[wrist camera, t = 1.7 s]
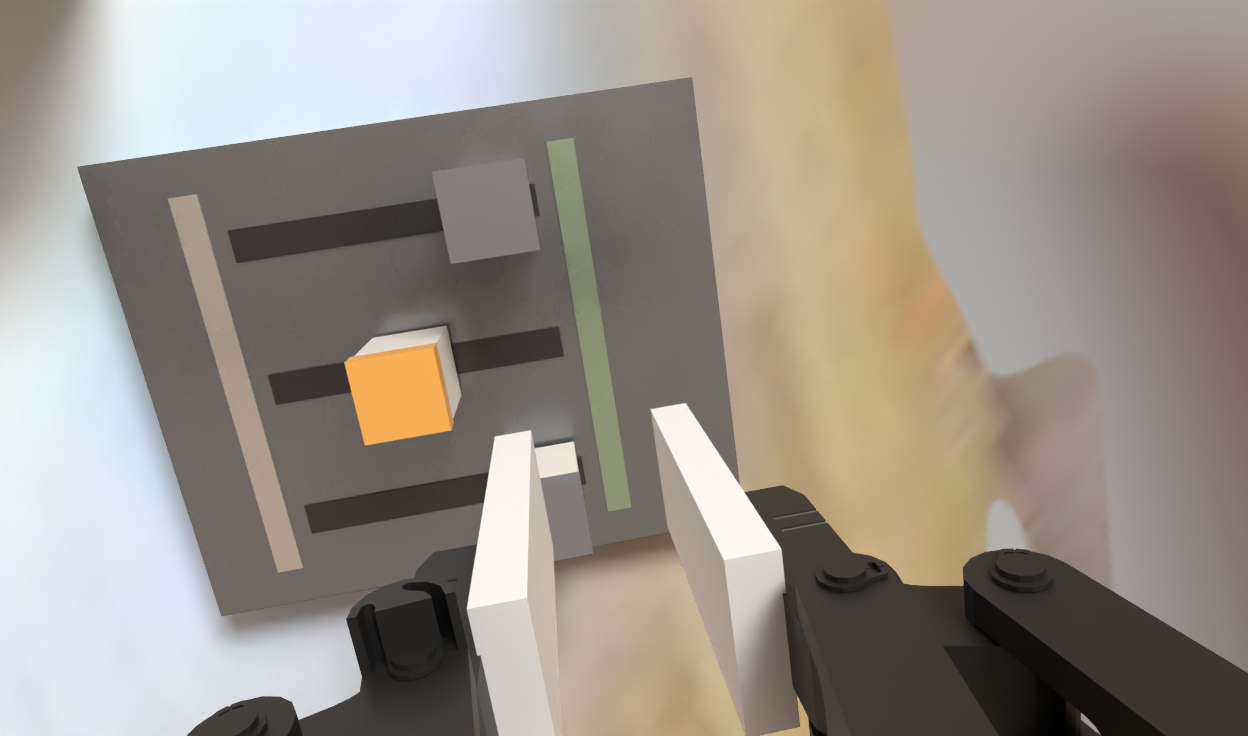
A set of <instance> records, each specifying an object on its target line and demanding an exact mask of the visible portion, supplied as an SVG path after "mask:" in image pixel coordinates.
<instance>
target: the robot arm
mask: <svg viewBox="0 0 1248 736" xmlns="http://www.w3.org/2000/svg"><path fill="white" fill-rule="evenodd" d="M650 410H651V417H652V424H653V430H654V437H655V444H656V451H657V458H658V465H659V472H660V479H661V485H662V492H663V499H664V506H665V513H666V520H667V526H668V529H669V532H670V534H671V537H672V540H673V542H674V545H675V548H676V551H677V553H678V556H679V559H680V561H681V564H682V567H683V569H684V572H685V575H686V577H687V580H688V583H689V585H690V588H691V591H692V593H693V596H694V599H695V601H696V604H697V607H698V610H699V612H700V615H701V618H702V620H703V623H704V626H705V628H706V631H707V634H708V636H709V639H710V642H711V644H712V647H713V650H714V652H715V655H716V658H717V660H718V663H719V666H720V668H721V671H722V674H723V677H724V679H725V682H726V685H727V687H728V690H729V693H730V695H731V698H732V701H733V703H734V706H735V709H736V711H737V714H738V717H739V719H740V722H741V725H742V727H743V730H744V733H745V736H759V735H763V734H768V733H773V732H778V731H783V730H787V729H792V728H797V727H800V722H799V712H798V702H797V695H798V697H799V699H800V701H801V703H802V705H803V707H804V709H805V711H806V713H807V715H808V719H809V729H810V736H1248V673H1247V672H1245V671H1243V670H1242V669H1240V668H1238V667H1237V666H1235V665H1234V664H1232V663H1230V662H1229V661H1227V660H1225V659H1224V658H1222V657H1220V656H1219V655H1217V654H1215V653H1214V652H1212V651H1210V650H1209V649H1207V648H1205V647H1204V646H1202V645H1200V644H1199V643H1197V642H1196V641H1194V640H1192V639H1191V638H1189V637H1187V636H1186V635H1184V634H1182V633H1181V632H1179V631H1177V630H1176V629H1174V628H1172V627H1171V626H1169V625H1167V624H1166V623H1164V622H1162V621H1161V620H1159V619H1158V618H1156V617H1154V616H1152V615H1151V614H1149V613H1147V612H1146V611H1144V610H1143V609H1141V608H1139V607H1138V606H1136V605H1134V604H1133V603H1131V602H1129V601H1128V600H1126V599H1124V598H1123V597H1121V596H1119V595H1118V594H1116V593H1114V592H1113V591H1111V590H1110V589H1108V588H1106V587H1105V586H1103V585H1101V584H1100V583H1098V582H1096V581H1095V580H1093V579H1091V578H1090V577H1088V576H1086V575H1085V574H1083V573H1081V572H1080V571H1078V570H1076V569H1075V568H1073V567H1071V566H1070V565H1068V564H1067V563H1064V562H1062V561H1060V560H1058V559H1055V558H1053V557H1051V556H1049V555H1045V554H1040V553H1036V552H1031V551H1029V550H1024V549H1016V550H1013V549H1001V550H997V551H990V552H984V553H982V554H980V555H977V556H975V557H973V558H971V559H970V560H969V561H968V562H967V563H966V565H965V566H964V567H963V580H964V586H919V585H908V584H903V582H902V581H901V579H900V577H899V576H898V574H897V573H896V571H895V570H893V569H892V568H891V567H890V566H889V565H888V564H887V563H886V562H884V561H881V560H879V559H877V558H874V557H872V556H869V555H863V554H857V553H852V551H851V550H850V549H849V548H848V547H847V545H846V544H845V543H844V542H843V541H842V539H841V538H840V537H839V536H838V535H837V533H836V532H835V531H834V530H833V529H832V528H831V526H830V525H829V524H828V523H826V522H825V519H824V518H823V517H822V516H821V514H820V513H819V512H818V511H817V512H816V508H815V507H814V506H813V505H812V504H811V503H810V501H809V500H808V499H807V498H806V497H805V495H803V494H801V493H799V492H796V491H794V490H792V489H790V488H788V487H786V486H783V485H782V486H776V487H771V488H765V489H760V490H755V491H749V492H744V491H743V490H742V488H741V487H740V485H739V484H738V482H737V481H736V479H735V477H734V476H733V474H732V473H731V471H730V470H729V468H728V467H727V465H726V464H725V462H724V461H723V459H722V458H721V456H720V455H719V453H718V452H717V450H716V449H715V447H714V446H713V444H712V442H711V441H710V439H709V438H708V436H707V435H706V433H705V432H704V430H703V429H702V427H701V426H700V424H699V423H698V421H697V420H696V418H695V417H694V415H693V414H692V412H691V410H690V409H689V407H688V406H687V404H686V403H683V404H677V405H672V406H666V407H660V408H655V409H650ZM346 620H347V624H348V627H349V631H350V635H351V638H352V642H353V645H354V649H355V653H356V656H357V660H358V664H359V667H360V671H361V675H362V681H361V688H360V692H359V693H357V694H356V695H354V696H353V697H351V698H350V699H348V700H345V701H343V702H341V703H339V704H337V705H335V706H333V707H330V708H328V709H325V710H323V711H320V712H318V713H315V714H313V715H310V716H308V717H305V718H303V719H300V720H298V718H297V714H296V711H295V709H294V706H293V704H292V702H290V701H288V700H286V699H284V698H282V697H263V696H262V697H258V698H254V699H250V700H244V701H240V702H237V703H234V704H232V705H231V706H230V707H228V706H227V707H225V708H223V709H221V710H219V711H217V712H216V713H215V714H214V715H212V716H211V717H209V718H208V719H206V720H205V721H203V722H202V723H200V724H199V725H197V726H196V727H195V728H194V729H193V730H192V731H191V732H190V733H189V734H188V735H187V736H561V713H560V690H559V667H558V644H557V621H556V598H555V576H554V553H553V543H552V538H551V533H550V528H549V522H548V517H547V512H546V506H545V501H544V496H543V491H542V485H541V480H540V475H539V470H538V464H537V459H536V454H535V448H534V443H533V438H532V433H531V430H529V431H524V432H518V433H512V434H507V435H501V436H495V439H494V445H493V451H492V457H491V463H490V469H489V475H488V482H487V488H486V494H485V500H484V506H483V512H482V518H481V525H480V531H479V537H478V543H477V544H475V545H470V546H464V547H459V548H454V549H448V550H443V551H437V552H433V553H432V554H431V555H430V556H429V557H428V558H427V560H426V561H425V562H424V563H423V564H422V565H421V566H420V567H419V568H418V569H417V570H416V574H415V577H414V578H410V579H404V580H401V581H398V582H395V583H392V584H389V585H386V586H383V587H381V588H379V589H378V590H376V591H374V592H372V593H370V594H368V595H367V596H365V597H364V598H363V599H362V600H361V601H359V602H358V603H357V604H356V605H355V606H354V607H353V608H352V610H351V611H350V613H349V615H348V617H347V619H346ZM1081 713H1082V714H1084V715H1085V716H1086V717H1087V718H1088V719H1089V720H1090V721H1091V722H1092V723H1093V724H1094V725H1095V726H1096V728H1097V729H1098V731H1099V732H1100V734H1101V735H1100V734H1098V733H1097V732H1095V731H1094V730H1093V729H1091V728H1090V727H1089V726H1088V725H1087V724H1085V723H1084V722H1083V721H1082V720H1081Z"/></svg>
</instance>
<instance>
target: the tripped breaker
mask: <svg viewBox="0 0 1248 736" xmlns="http://www.w3.org/2000/svg"><path fill="white" fill-rule="evenodd" d="M344 364H345V368H346V372H347V376H348V380H349V384H350V388H351V392H352V396H353V400H354V404H355V408H356V412H357V416H358V420H359V424H360V428H361V432H362V436H363V440H364V444H365V445H371V444H376V443H382V442H388V441H393V440H399V439H405V438H411V437H416V436H422V435H428V434H434V433H439V432H445V431H451V430H452V427H453V424H454V422H453V418H454V415H455V412H456V409H457V406H458V403H459V401H460V398H461V391H460V386H459V381H458V377H457V372H456V367H455V362H454V358H453V353H452V348H451V344H450V339H449V334H448V329H447V326H441V327H435V328H429V329H423V330H417V331H411V332H405V333H399V334H393V335H387V336H381V337H374V338H372V339H371V340H370V341H369V342H368V343H367V344H366V345H365V346H364V347H363V348H362V349H361V350H360V351H359V352H358V353H357V354H356V355H355V356H354V357H350V358H349V359H348V360H347V361H346V362H344Z"/></svg>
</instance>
